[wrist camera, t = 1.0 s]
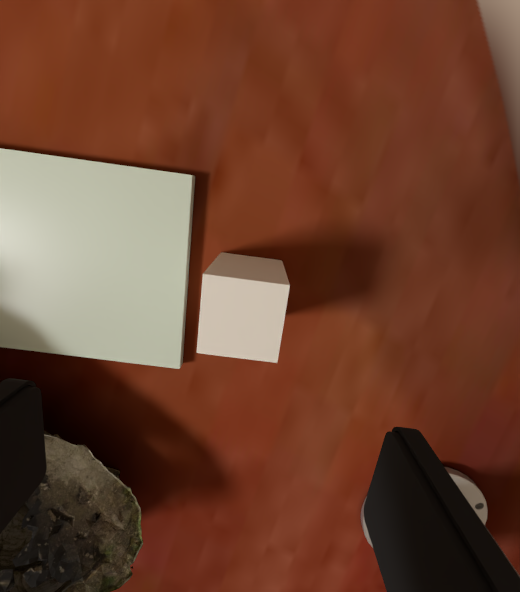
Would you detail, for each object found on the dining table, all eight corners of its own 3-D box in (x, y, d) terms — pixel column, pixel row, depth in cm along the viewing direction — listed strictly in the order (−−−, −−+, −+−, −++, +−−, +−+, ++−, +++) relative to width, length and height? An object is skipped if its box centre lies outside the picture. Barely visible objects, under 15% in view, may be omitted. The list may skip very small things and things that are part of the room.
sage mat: (182, 363, 28) (179, 368, 27) (3, 341, 28) (-6, 346, 27) (195, 176, 24) (192, 175, 23) (-20, 146, 23) (-32, 143, 22)
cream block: (273, 317, 27) (277, 362, 19) (215, 309, 27) (196, 352, 19) (281, 260, 25) (290, 285, 18) (221, 252, 25) (202, 273, 18)
